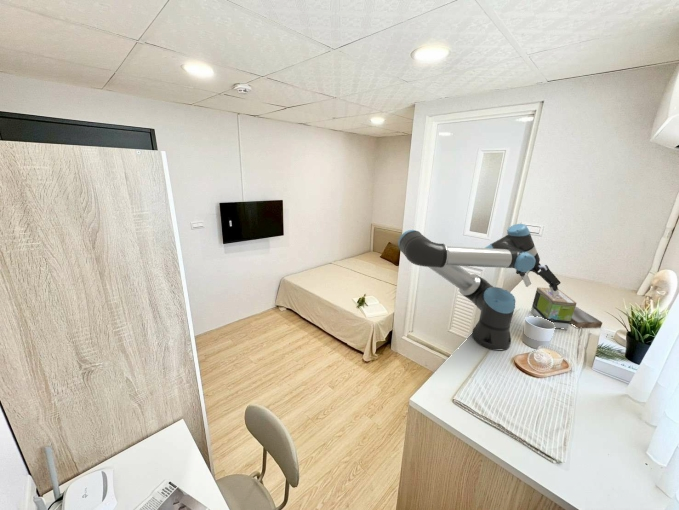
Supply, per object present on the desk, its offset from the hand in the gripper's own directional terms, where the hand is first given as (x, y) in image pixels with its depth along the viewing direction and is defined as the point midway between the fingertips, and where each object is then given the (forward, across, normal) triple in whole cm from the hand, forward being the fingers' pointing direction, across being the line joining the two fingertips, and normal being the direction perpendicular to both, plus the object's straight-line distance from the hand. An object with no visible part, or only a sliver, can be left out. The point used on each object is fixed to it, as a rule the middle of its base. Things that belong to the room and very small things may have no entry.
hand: (541, 289), depth 124 cm
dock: (+26, -1, -10) cm, 28 cm away
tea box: (+19, +1, +2) cm, 19 cm away
